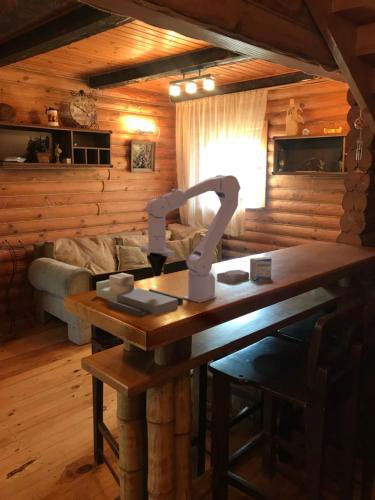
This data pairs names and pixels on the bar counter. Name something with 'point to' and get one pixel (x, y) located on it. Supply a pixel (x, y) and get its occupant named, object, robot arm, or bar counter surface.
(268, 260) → the medicine box
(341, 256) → the bar counter surface
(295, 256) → the bar counter surface
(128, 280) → the ash block
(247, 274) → the stone block
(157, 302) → the trap causeway
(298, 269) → the bar counter surface
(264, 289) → the bar counter surface
